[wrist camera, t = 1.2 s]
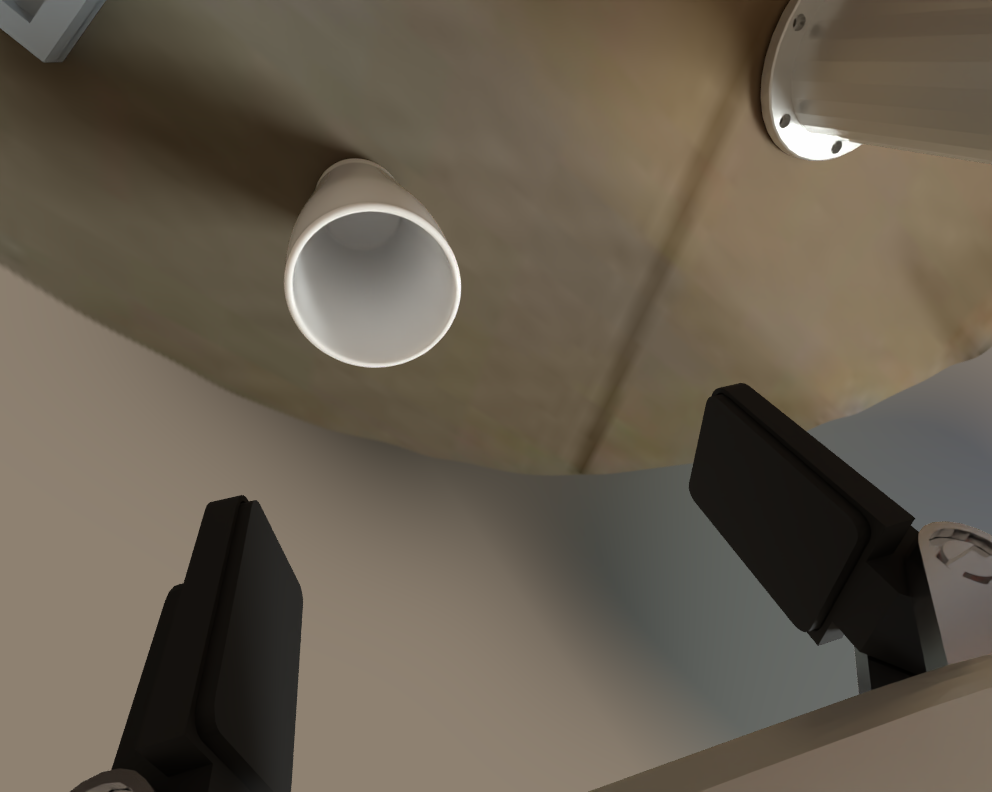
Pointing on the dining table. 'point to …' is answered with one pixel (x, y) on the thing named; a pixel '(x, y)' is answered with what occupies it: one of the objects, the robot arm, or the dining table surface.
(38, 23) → the tray
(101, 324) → the dining table surface
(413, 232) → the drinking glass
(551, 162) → the dining table surface
